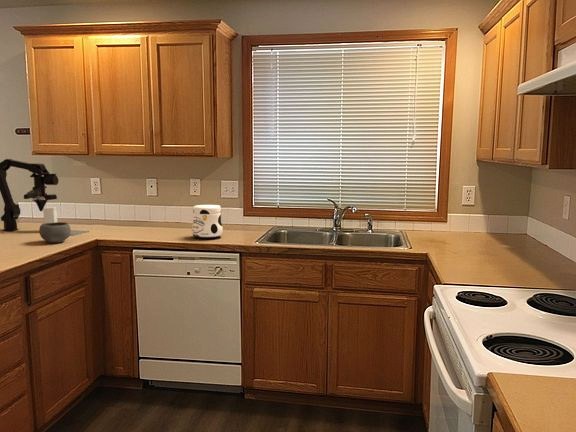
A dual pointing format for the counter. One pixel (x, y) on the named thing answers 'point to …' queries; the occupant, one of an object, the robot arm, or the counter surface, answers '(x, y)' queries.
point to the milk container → (207, 221)
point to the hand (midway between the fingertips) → (41, 211)
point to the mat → (77, 232)
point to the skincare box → (50, 214)
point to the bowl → (54, 231)
